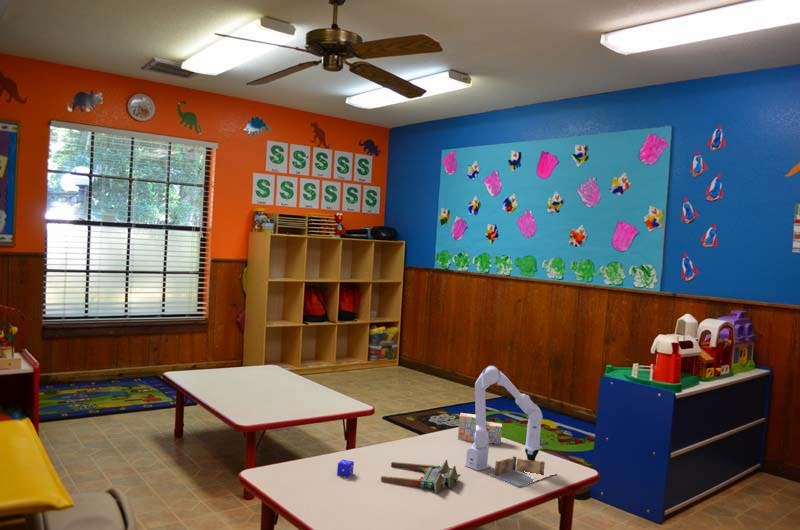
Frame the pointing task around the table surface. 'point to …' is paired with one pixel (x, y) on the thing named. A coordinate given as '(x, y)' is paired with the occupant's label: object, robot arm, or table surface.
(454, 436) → the table surface
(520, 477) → the board
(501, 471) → the walnut fence section
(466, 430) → the stack of blocks
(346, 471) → the die
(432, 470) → the miniature gate
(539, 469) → the oak fence section
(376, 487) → the table surface
